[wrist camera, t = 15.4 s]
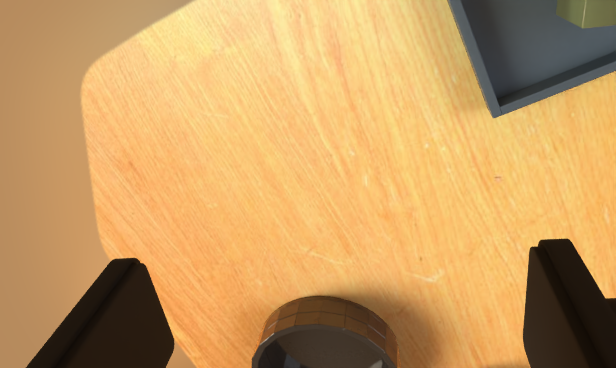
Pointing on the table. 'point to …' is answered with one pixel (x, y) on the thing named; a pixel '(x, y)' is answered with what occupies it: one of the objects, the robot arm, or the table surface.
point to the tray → (529, 50)
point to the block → (588, 12)
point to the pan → (325, 337)
